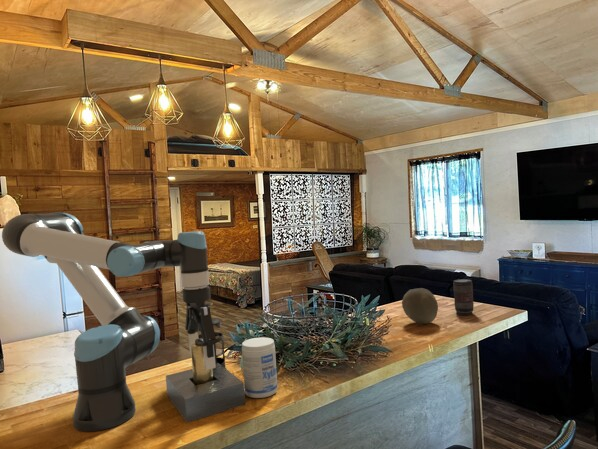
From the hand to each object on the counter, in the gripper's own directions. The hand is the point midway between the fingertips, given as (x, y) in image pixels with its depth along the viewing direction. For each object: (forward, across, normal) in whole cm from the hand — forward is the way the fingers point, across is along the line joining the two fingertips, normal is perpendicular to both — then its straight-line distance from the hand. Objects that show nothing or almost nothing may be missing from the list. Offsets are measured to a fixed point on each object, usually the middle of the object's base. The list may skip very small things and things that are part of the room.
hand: (202, 361), depth 122 cm
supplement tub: (+11, -6, -15) cm, 19 cm away
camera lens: (+12, +10, -123) cm, 124 cm away
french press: (+11, +20, -9) cm, 25 cm away
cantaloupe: (+12, +12, -98) cm, 99 cm away
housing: (+11, 0, 0) cm, 11 cm away
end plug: (+11, 0, 0) cm, 11 cm away
